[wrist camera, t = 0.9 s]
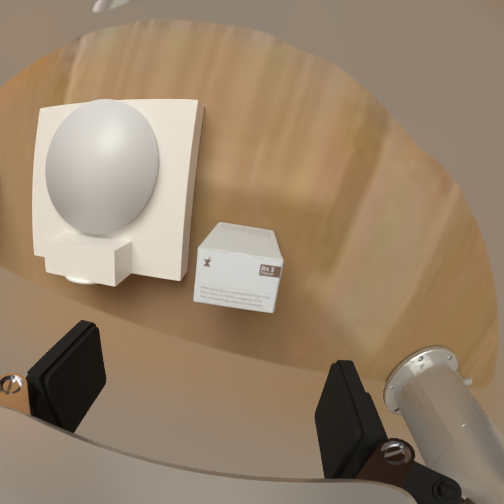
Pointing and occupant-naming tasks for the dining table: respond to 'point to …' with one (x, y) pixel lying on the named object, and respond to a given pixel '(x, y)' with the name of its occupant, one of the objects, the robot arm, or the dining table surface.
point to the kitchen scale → (115, 188)
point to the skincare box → (239, 268)
